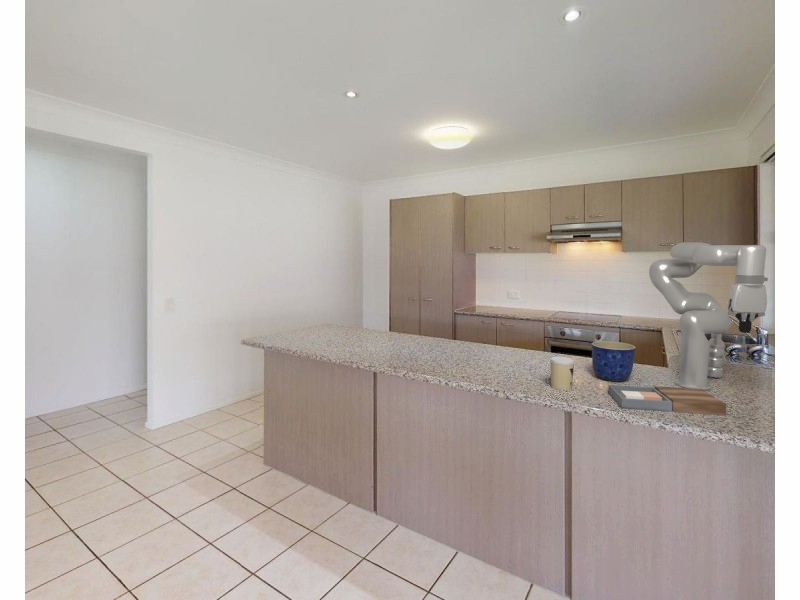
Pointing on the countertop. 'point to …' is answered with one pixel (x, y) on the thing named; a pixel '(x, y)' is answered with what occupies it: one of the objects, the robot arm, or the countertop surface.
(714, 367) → the plastic bottle
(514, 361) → the countertop surface
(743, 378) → the countertop surface
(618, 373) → the planter
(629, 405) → the tray
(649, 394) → the terracotta tile
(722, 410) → the walnut board
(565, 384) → the coffee cup
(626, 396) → the cream tile
